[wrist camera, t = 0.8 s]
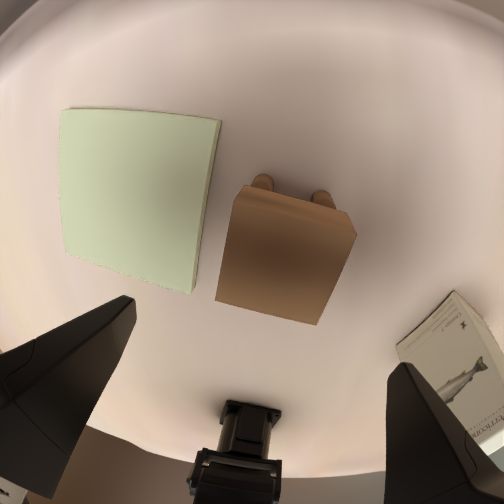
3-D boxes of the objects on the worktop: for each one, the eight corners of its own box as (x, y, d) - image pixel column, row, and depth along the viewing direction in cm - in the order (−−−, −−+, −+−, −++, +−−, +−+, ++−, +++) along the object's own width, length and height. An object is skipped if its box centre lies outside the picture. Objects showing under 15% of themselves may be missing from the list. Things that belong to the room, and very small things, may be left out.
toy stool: (311, 262, 18) (315, 325, 13) (238, 243, 18) (214, 300, 13) (336, 192, 16) (357, 234, 10) (254, 170, 16) (233, 201, 10)
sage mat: (194, 287, 20) (190, 295, 20) (72, 247, 21) (65, 253, 20) (221, 120, 14) (216, 121, 14) (70, 108, 15) (61, 110, 14)
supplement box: (453, 287, 17) (521, 417, 6) (484, 320, 18) (535, 424, 7) (392, 345, 21) (420, 478, 10) (432, 367, 22) (460, 473, 11)
